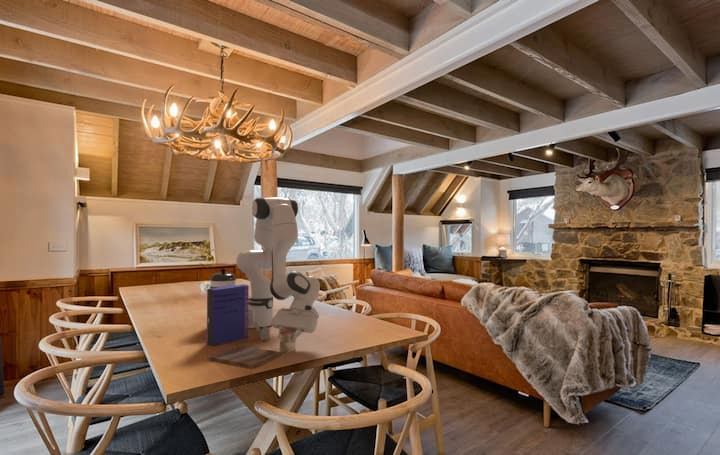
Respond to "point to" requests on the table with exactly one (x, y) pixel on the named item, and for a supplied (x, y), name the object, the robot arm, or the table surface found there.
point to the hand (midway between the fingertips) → (286, 338)
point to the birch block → (287, 341)
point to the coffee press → (222, 279)
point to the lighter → (263, 332)
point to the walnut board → (244, 356)
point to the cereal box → (227, 314)
